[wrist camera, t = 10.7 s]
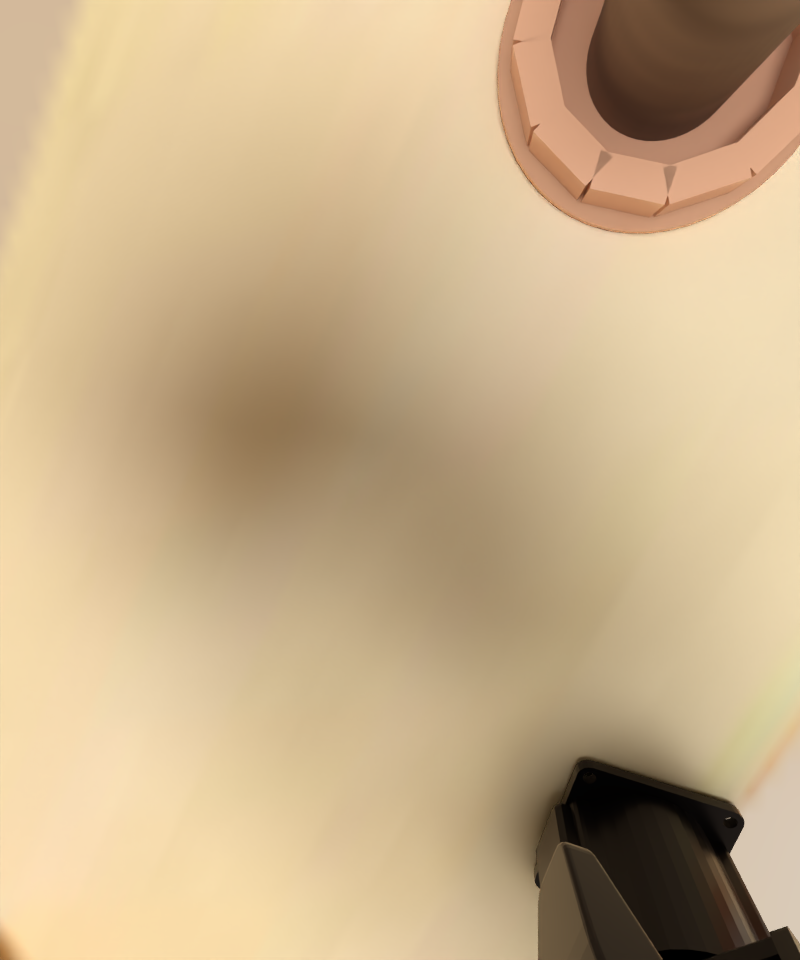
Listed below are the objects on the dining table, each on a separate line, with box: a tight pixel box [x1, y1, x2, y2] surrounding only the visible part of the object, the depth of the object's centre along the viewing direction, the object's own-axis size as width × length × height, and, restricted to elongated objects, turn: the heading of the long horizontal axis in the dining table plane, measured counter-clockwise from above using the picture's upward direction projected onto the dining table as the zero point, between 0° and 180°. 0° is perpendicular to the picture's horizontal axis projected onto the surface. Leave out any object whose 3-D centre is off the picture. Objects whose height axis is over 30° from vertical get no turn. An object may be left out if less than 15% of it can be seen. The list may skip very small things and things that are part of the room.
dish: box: [498, 0, 800, 233], centre depth 15 cm, size 10×10×2 cm
